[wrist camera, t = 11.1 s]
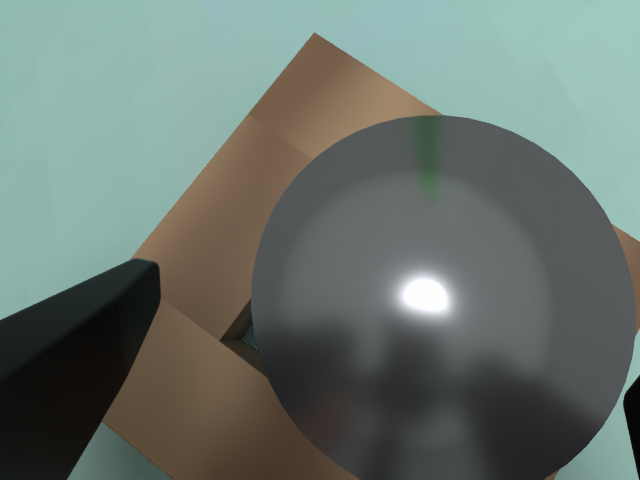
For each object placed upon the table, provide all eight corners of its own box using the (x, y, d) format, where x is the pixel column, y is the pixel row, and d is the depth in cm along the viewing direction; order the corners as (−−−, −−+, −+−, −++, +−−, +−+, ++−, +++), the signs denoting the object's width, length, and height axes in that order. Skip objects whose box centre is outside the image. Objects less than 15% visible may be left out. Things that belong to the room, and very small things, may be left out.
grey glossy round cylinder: (430, 346, 18) (714, 383, 5) (328, 399, 17) (361, 583, 5) (377, 246, 19) (509, 60, 6) (279, 295, 18) (190, 207, 5)
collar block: (598, 279, 18) (675, 265, 14) (405, 603, 16) (433, 690, 12) (315, 91, 20) (314, 32, 16) (101, 362, 18) (39, 371, 14)
